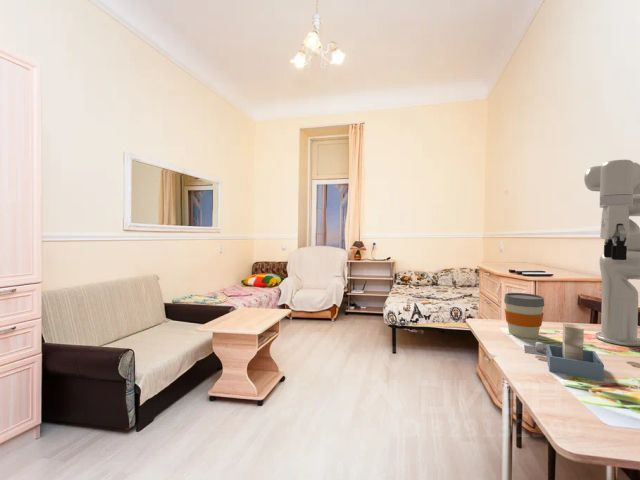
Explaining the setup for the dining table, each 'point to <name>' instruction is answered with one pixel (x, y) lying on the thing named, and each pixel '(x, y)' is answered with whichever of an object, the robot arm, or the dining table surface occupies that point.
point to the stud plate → (531, 351)
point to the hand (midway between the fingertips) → (614, 258)
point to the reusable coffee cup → (524, 314)
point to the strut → (573, 342)
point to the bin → (575, 363)
